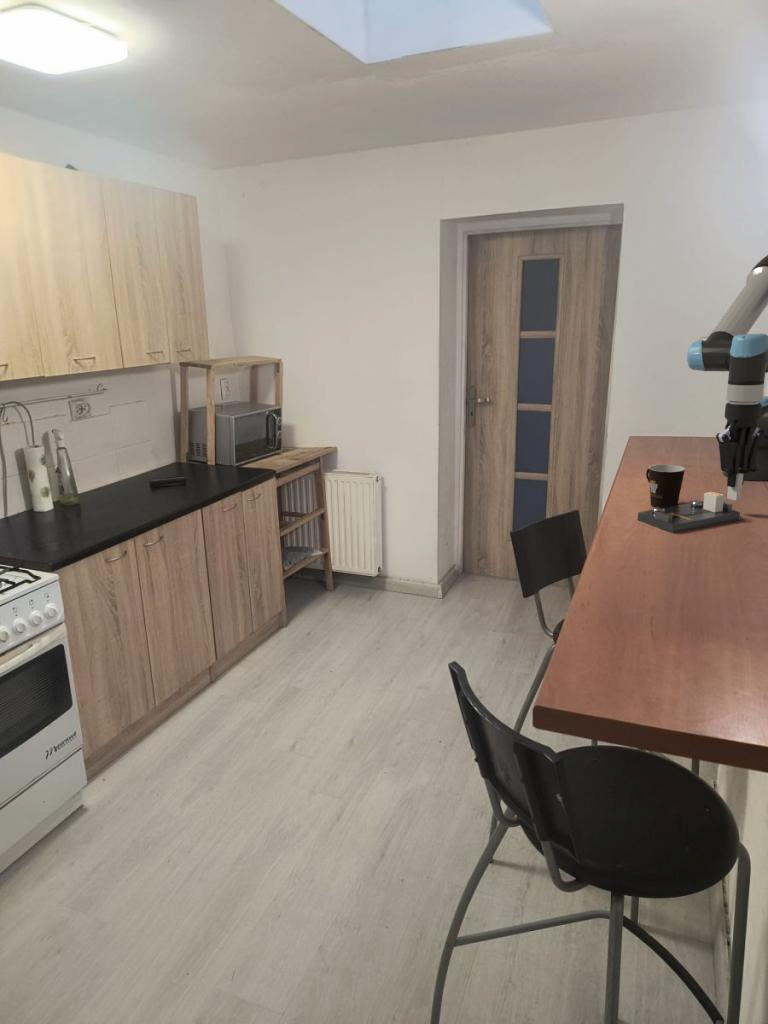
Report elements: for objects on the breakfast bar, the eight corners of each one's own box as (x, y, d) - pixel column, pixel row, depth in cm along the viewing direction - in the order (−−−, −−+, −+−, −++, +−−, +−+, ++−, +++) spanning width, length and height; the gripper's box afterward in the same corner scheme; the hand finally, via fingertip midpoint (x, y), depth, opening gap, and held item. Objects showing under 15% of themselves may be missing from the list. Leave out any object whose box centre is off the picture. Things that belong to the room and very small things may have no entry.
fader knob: (710, 507, 163) (712, 491, 162) (722, 511, 160) (724, 494, 159) (703, 508, 162) (704, 492, 161) (714, 512, 159) (716, 495, 158)
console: (701, 508, 170) (702, 494, 169) (739, 520, 159) (740, 505, 158) (637, 520, 163) (638, 506, 162) (672, 533, 153) (673, 518, 152)
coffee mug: (685, 510, 169) (688, 471, 166) (649, 510, 171) (651, 472, 168) (675, 498, 180) (678, 461, 177) (641, 497, 182) (644, 462, 179)
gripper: (751, 398, 162) (741, 492, 168) (709, 403, 157) (700, 499, 164) (778, 401, 155) (766, 499, 161) (735, 406, 151) (725, 506, 157)
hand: (733, 499), depth 163 cm, fingers closed
